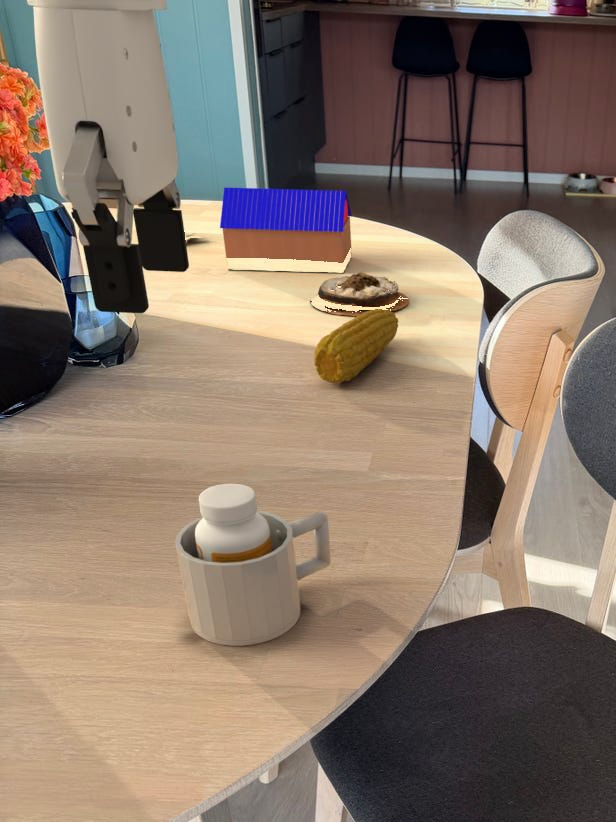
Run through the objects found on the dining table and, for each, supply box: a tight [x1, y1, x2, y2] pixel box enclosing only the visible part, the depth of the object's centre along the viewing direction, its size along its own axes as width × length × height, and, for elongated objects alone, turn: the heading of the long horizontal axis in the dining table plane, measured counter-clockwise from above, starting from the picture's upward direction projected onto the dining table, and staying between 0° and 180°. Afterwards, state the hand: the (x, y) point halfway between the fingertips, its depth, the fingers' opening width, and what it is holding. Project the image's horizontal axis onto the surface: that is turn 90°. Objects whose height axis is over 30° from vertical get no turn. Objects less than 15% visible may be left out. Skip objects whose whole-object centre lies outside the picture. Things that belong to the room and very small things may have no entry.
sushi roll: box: [309, 271, 410, 317], centre depth 141 cm, size 15×15×4 cm
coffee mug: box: [174, 509, 332, 647], centre depth 72 cm, size 12×8×7 cm
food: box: [313, 309, 399, 384], centre depth 118 cm, size 21×6×6 cm, turn 166°
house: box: [219, 187, 353, 263], centre depth 156 cm, size 12×20×12 cm, turn 89°
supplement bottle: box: [195, 483, 272, 563], centre depth 70 cm, size 5×5×10 cm
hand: (146, 289), depth 62 cm, fingers open, 9 cm apart
